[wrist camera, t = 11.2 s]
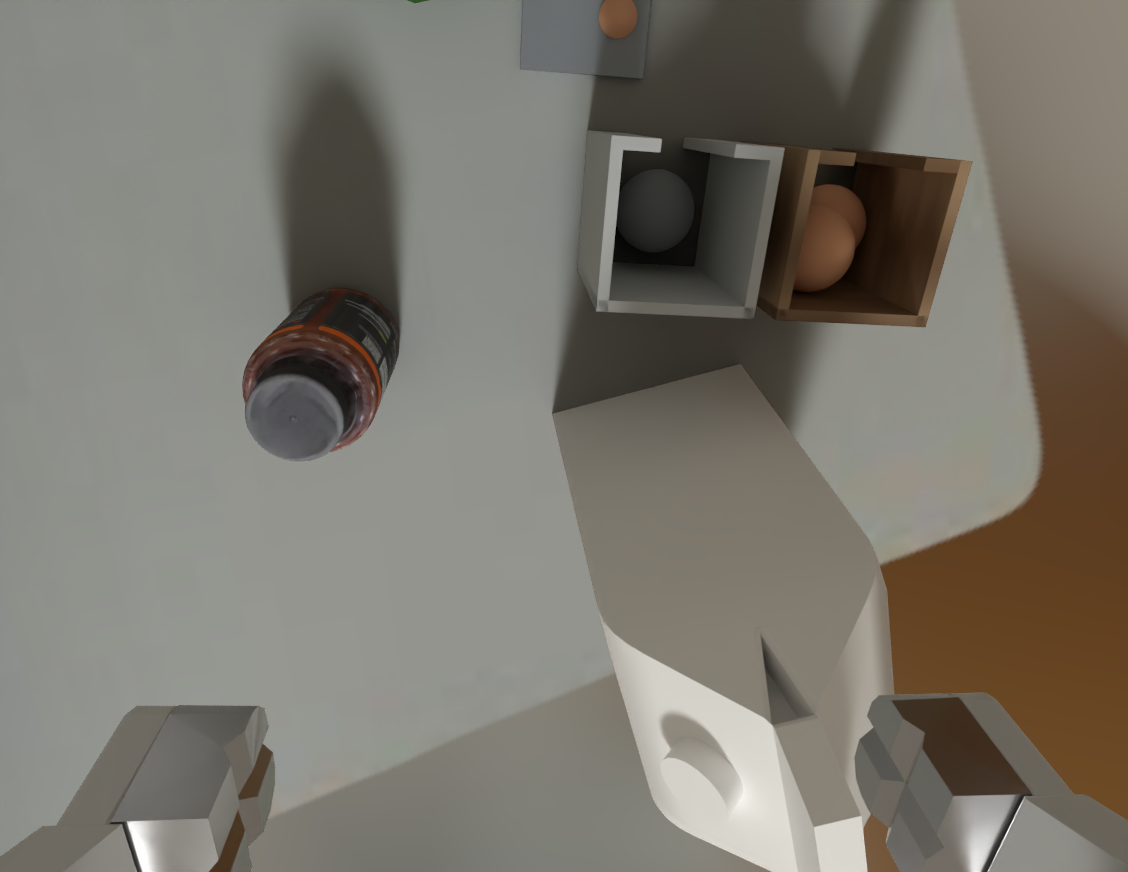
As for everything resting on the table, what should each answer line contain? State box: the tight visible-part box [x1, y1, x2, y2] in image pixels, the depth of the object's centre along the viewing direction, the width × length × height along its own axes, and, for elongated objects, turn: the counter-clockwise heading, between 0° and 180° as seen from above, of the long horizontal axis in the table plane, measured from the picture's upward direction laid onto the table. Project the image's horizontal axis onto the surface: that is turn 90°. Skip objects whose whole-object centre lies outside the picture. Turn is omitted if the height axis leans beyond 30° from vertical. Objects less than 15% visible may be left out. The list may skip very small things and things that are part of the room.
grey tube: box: [577, 130, 785, 319], centre depth 33 cm, size 7×7×9 cm
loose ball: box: [793, 205, 855, 292], centre depth 34 cm, size 4×4×4 cm
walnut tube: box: [741, 141, 973, 327], centre depth 34 cm, size 7×7×9 cm
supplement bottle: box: [242, 289, 399, 461], centre depth 34 cm, size 6×6×11 cm
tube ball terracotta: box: [810, 184, 867, 249], centre depth 37 cm, size 4×4×4 cm
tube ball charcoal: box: [616, 169, 695, 252], centre depth 36 cm, size 4×4×4 cm
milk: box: [552, 364, 894, 872], centre depth 33 cm, size 12×12×26 cm
